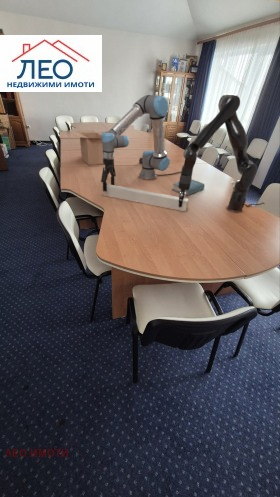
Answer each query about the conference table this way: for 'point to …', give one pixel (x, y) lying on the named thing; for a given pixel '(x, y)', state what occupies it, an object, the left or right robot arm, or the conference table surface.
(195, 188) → the book
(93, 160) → the box
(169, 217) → the conference table surface
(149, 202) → the bar
